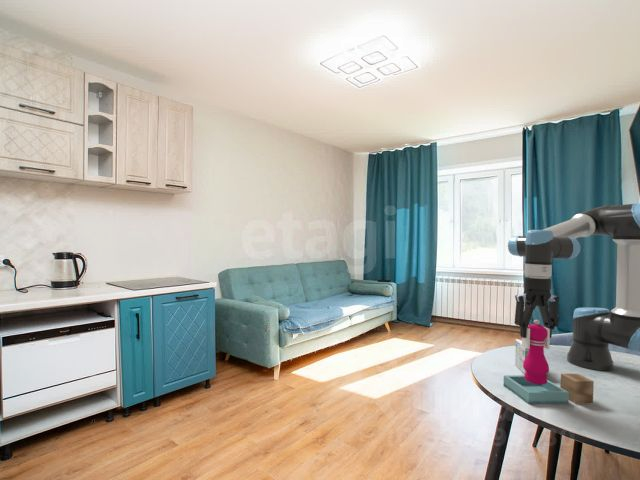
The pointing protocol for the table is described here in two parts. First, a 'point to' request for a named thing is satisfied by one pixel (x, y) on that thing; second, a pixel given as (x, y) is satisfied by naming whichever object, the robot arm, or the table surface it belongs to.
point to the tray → (536, 391)
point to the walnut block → (578, 388)
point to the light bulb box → (520, 355)
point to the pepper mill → (536, 355)
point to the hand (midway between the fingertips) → (535, 347)
